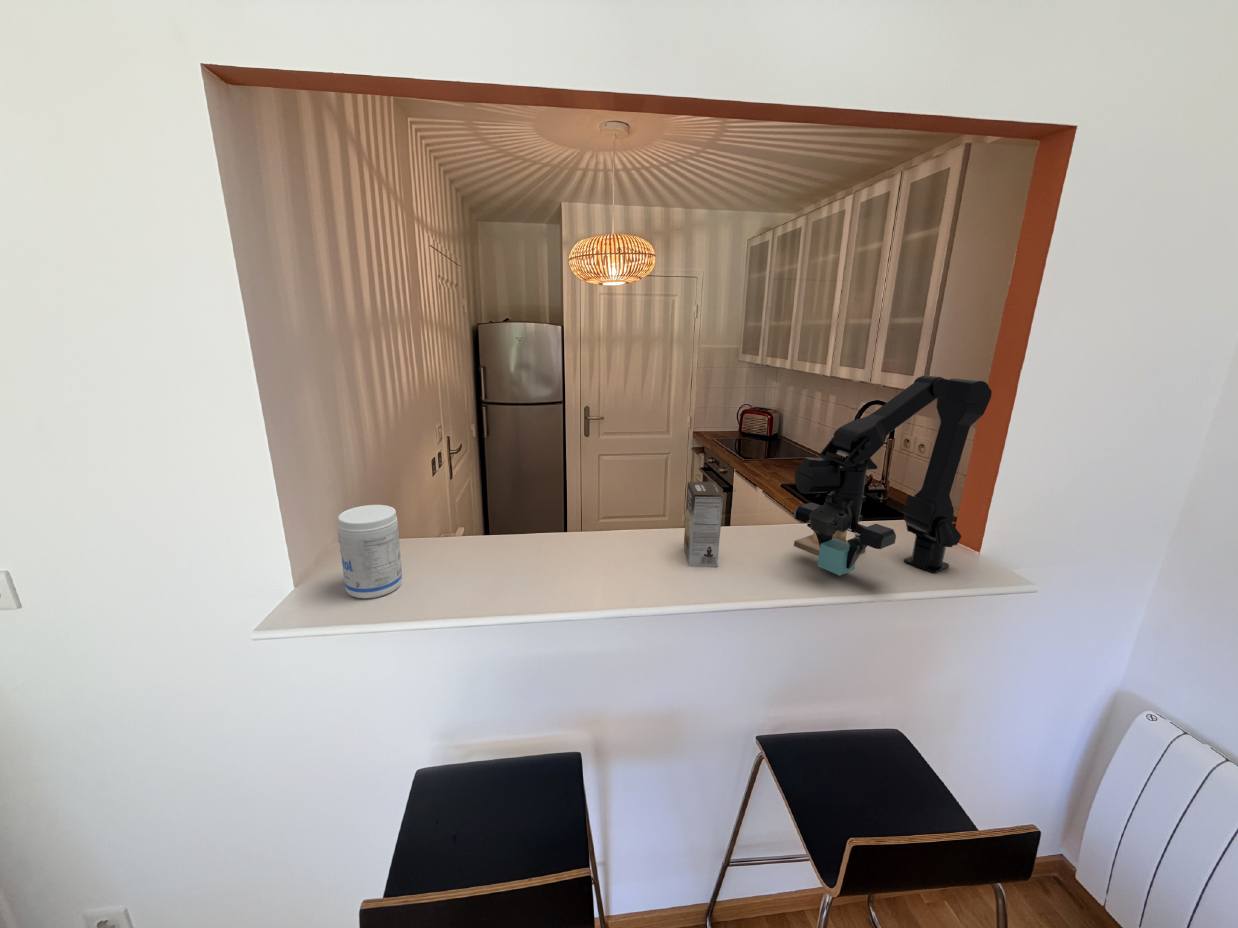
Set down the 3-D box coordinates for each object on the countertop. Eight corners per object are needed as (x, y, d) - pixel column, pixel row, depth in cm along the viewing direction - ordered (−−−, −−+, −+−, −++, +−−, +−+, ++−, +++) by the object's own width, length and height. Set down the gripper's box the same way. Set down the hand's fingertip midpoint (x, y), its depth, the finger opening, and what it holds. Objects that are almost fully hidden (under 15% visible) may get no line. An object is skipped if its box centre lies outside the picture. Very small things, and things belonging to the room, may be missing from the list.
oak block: (825, 537, 116) (827, 517, 115) (844, 544, 112) (847, 524, 111) (812, 542, 113) (815, 521, 112) (832, 549, 109) (835, 529, 108)
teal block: (831, 560, 104) (835, 538, 103) (854, 569, 100) (857, 547, 99) (817, 565, 101) (820, 543, 100) (839, 575, 97) (843, 552, 96)
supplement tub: (337, 588, 90) (326, 513, 87) (388, 570, 97) (380, 500, 94) (360, 606, 84) (350, 527, 81) (413, 586, 92) (406, 512, 88)
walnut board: (821, 538, 120) (822, 531, 120) (864, 555, 112) (865, 547, 111) (793, 548, 114) (794, 540, 114) (837, 567, 105) (838, 558, 105)
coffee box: (682, 548, 111) (686, 480, 107) (710, 549, 111) (715, 481, 107) (688, 567, 102) (693, 493, 98) (718, 567, 102) (725, 494, 98)
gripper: (781, 484, 99) (773, 554, 103) (870, 512, 84) (857, 593, 88) (815, 476, 105) (806, 543, 109) (903, 501, 91) (889, 577, 95)
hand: (836, 563), depth 100 cm, fingers closed on teal block, 5 cm apart
